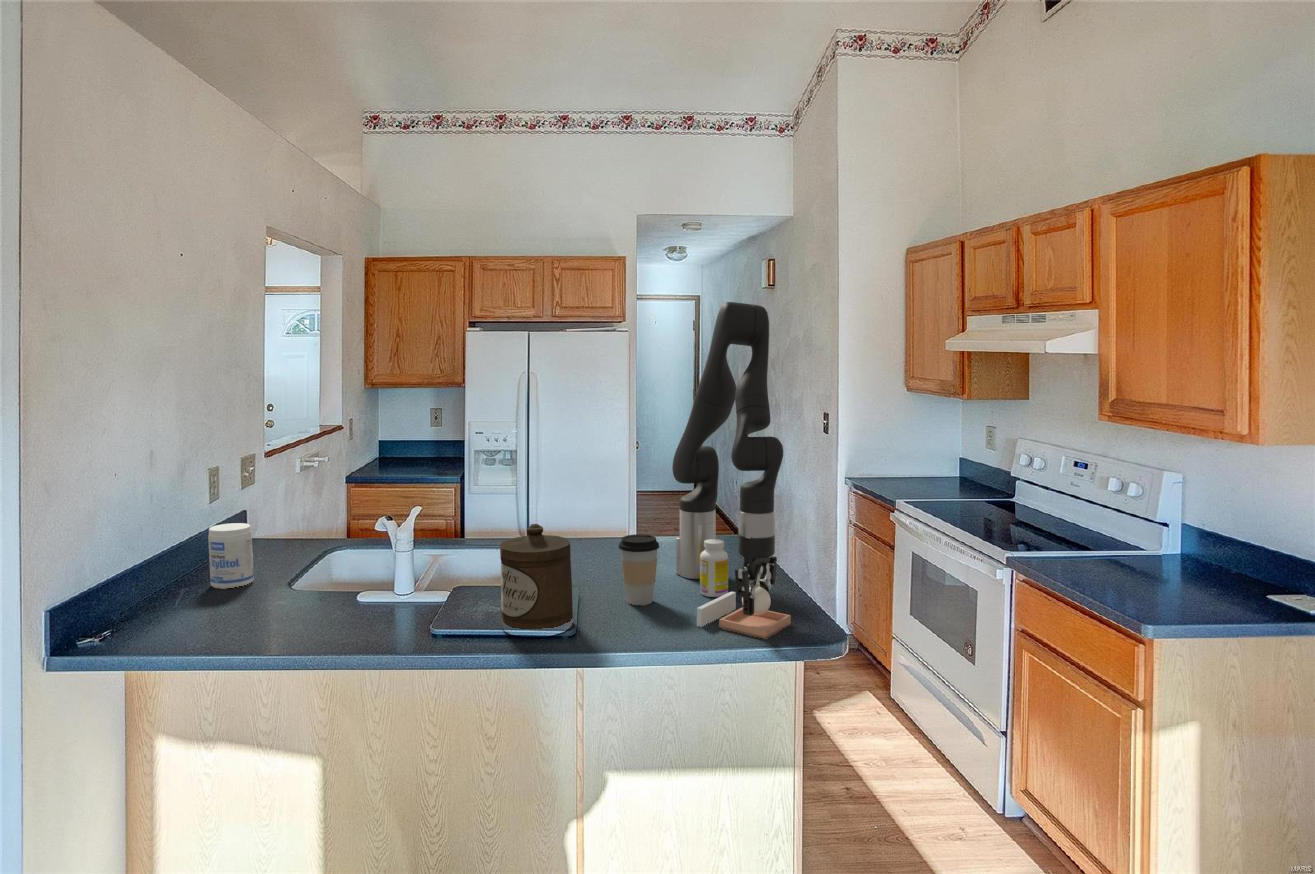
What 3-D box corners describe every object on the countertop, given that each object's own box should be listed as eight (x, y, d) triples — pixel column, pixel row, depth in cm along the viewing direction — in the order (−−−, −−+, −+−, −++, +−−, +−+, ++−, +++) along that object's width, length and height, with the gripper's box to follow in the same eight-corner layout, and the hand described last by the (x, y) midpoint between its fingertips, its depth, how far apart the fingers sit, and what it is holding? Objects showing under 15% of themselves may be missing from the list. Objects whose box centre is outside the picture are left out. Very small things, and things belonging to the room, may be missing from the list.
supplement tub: (208, 592, 197) (204, 532, 195) (213, 581, 205) (209, 524, 204) (253, 587, 200) (249, 528, 199) (255, 577, 209) (252, 521, 207)
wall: (696, 626, 172) (696, 608, 171) (731, 608, 183) (731, 591, 182) (701, 627, 171) (701, 609, 170) (735, 609, 182) (735, 592, 182)
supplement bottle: (731, 591, 196) (731, 539, 194) (724, 599, 189) (724, 545, 188) (704, 588, 198) (704, 536, 196) (696, 596, 192) (696, 543, 190)
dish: (719, 628, 170) (719, 619, 170) (745, 614, 179) (745, 605, 179) (765, 639, 164) (765, 630, 163) (790, 624, 172) (790, 615, 172)
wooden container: (490, 624, 173) (487, 523, 171) (550, 610, 182) (548, 514, 180) (523, 644, 162) (520, 536, 159) (586, 628, 171) (584, 526, 168)
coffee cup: (666, 598, 190) (666, 535, 189) (648, 610, 182) (648, 545, 180) (630, 593, 194) (629, 531, 192) (611, 604, 186) (610, 540, 184)
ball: (736, 615, 170) (736, 587, 170) (750, 608, 175) (750, 581, 174) (761, 621, 167) (762, 592, 166) (775, 613, 172) (775, 585, 171)
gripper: (757, 523, 177) (757, 598, 179) (723, 536, 165) (723, 616, 167) (788, 528, 172) (787, 604, 174) (755, 541, 161) (755, 623, 163)
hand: (756, 610), depth 171 cm, fingers closed on ball, 6 cm apart
